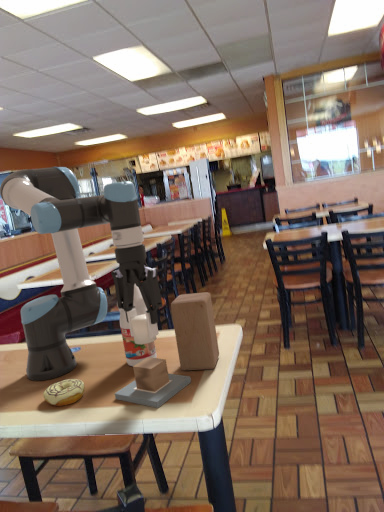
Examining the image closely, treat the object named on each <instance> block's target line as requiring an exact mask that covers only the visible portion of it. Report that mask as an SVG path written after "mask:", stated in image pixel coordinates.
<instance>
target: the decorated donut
mask: <svg viewBox="0 0 384 512" xmlns="http://www.w3.org/2000/svg"><path fill="white" fill-rule="evenodd" d="M85 389H86V387H85V383H84V381H83V380H82V379H81V380H80V379H79V378H68V379H67V378H66V379H63V380H61V381H58V382H54V383H53V384H50V385H49V386H47V388H46V389H45V390H44V392H43V398H44V400H45V401H46V403H47V404H49V405H51V406H55V407H57V406H58V407H62V406H68V405H72V404H74V403H76V402H77V401H79V400H80V399H81V398H82V397H83V395H84V394H85Z"/></svg>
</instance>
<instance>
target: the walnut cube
mask: <svg viewBox="0 0 384 512" xmlns="http://www.w3.org/2000/svg"><path fill="white" fill-rule="evenodd" d="M132 368H133V369H132V370H133V374H134V378H135V380H134V381H136V386H137V389H142V390H147V391H153V392H155V391H157V390H158V389H159V388H161V387H162V386H164V385H165V384H166V383H168V382H169V376H168V373H169V372H168V370H169V369H168V366H167V359H164V358H159V357H158V358H157V357H156V358H151V357H148V358H146V359H144V360H143V361H141V362H139V363H138V364H136V365H134V366H132Z"/></svg>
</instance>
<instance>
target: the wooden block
mask: <svg viewBox="0 0 384 512" xmlns="http://www.w3.org/2000/svg"><path fill="white" fill-rule="evenodd" d="M170 309H171V316H172V323H173V329H174V334H175V340H176V342H175V343H176V347H177V352H178V358H179V360H178V361H179V365H180V369H181V371H196V370H197V371H198V370H213V369H215V367H216V364H217V362H218V359H219V356H220V350H219V343H218V335H217V329H216V322H215V316H214V309H213V301H212V296H211V293H210V292H208V291H206V292H195V293H184V294H179V295H178V296H176V297H175V299H174V300H173V301H172V302H171V303H170Z"/></svg>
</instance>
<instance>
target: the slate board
mask: <svg viewBox="0 0 384 512" xmlns="http://www.w3.org/2000/svg"><path fill="white" fill-rule="evenodd" d="M168 376H169V382H168V383H166V384H165V385H164V386H162V387H161V388H159V389H158V390H157V391H155V392H153V391H147V390H142V389H137V386H136V381H135V380H133V381H131V382H130V383H128V384H127V385H125V386H124V387H122V388H121V389H119V390H118V391H116V392H114V397H115V400H118V401H119V400H120V401H123V402H128V403H132V404H137V405H142V406H148V407H151V408H157V409H159V408H160V407H161V406H163V405H164V404H165V403H166V402H167V401H169V400H170V399H172V397H174V396H175V395H176V394H178V393H180V391H182V390H183V389H184V388H186V387H187V386H189V384H191V383H192V379H191V376H189V375H183V374H182V375H181V374H174V373H169V372H168Z"/></svg>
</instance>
